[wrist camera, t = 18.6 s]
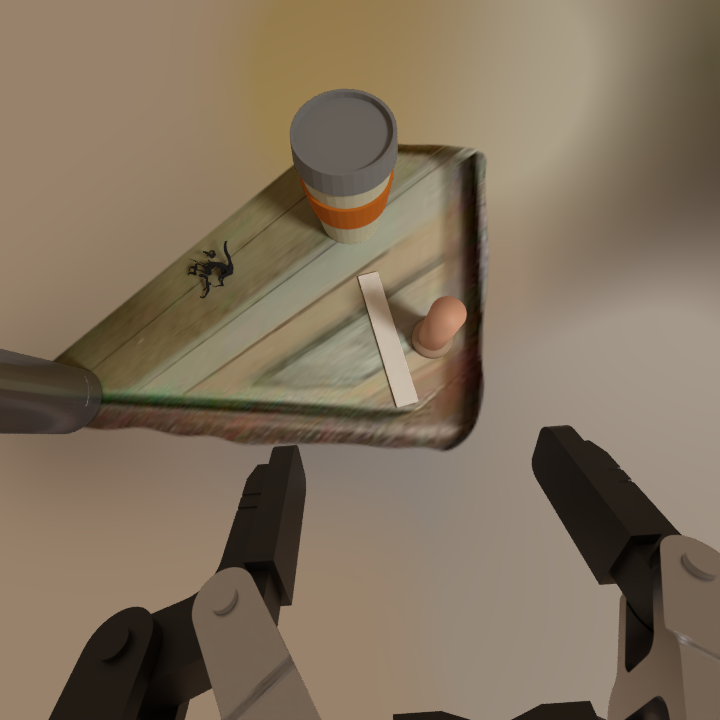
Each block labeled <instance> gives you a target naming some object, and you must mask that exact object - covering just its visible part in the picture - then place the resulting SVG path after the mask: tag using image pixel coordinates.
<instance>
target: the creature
mask: <svg viewBox="0 0 720 720" xmlns="http://www.w3.org/2000/svg"><path fill="white" fill-rule="evenodd" d="M226 243H227V241H225V243H224V252H225V254H226V256H227V258H228V265H227V266H226V265H225V264H222V263H219V262H210V261H209V260H208V261H209V262H210V263H206V264H204V265H201V264H197V263H196V264H195V266H192V267H190V268H193V269H194V272H189V274H193V275H196V274H197V273H196V270H198V269H197V268H198V267H197V265H201V266H203V267H204V269H205V271H206V272H205V271H202V270H200V271H202V272H203V273H204V274H206V275H211V270H212V269H213V268H214V267H215V266H216V267H219V268H220V269H221V275H220V276H219V278H218V280H219V281H220V279H221V278H222V280H221V285H218V286H224V285H223V279H224V278H225V277H227V276H229V275H232V274H233V264H232V262H231V258H230V255H229V254H228V251H227V247H226ZM211 251H212V252H213V254H212V255H211V254H210V252H211ZM211 251H210V252H206V251H203V252H204V253H205V254H207V256H208V255H209V256H210V258H214V257H215V255H216V254H215V251H213V250H211ZM191 260H192V259H191ZM193 261H195V260H193ZM195 262H196V261H195ZM197 262H198V261H197ZM200 263H201V262H200ZM202 264H203V263H202ZM205 265H208V266H205ZM190 268H189V271H190ZM189 274H188V276H189ZM204 274H199V276H200V277H204V278H205V279H206V286H207V287H206V288H207V291H206V294H205V296H203V297H201V298H205V297H206V295H207V294H208V292H209V285H211V282H210V283H209V282H208V277H207V276H206V275H204ZM213 287H214V286H213ZM216 287H217V286H216ZM206 288H205V289H206ZM205 289H204V290H205ZM204 290H203V291H204Z"/></svg>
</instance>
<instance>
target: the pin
mask: <svg viewBox="0 0 720 720" xmlns="http://www.w3.org/2000/svg"><path fill="white" fill-rule="evenodd" d="M465 319H466V309H465V306H464V305H463V304H462V302H461V301H459V300H458V299H456V298H454V297H449V296H446V297H441V298H439V299H437V300H436V301H435V302H434V303H433V304H432V306H431V308H430V310H429V312H428V314H427V317H426V319H423V320H422V321H420V322H419V323H418V324H417V325H416V326H415V328H414V330H413V333H412V337H411V340H412V345H413V347H414V349H415V350H416V352H417V353H418V354H420V355H421V356H423V357H426V358H431V359H433V358H439V357H441V356H443V355H444V354H445V353H447V351H448V350H449V349H450V348H451V346H452V344H453V335H454V334H455V333H456V332H457V330H458V329H459V328H460V327H461V326H462V324H463V323H464V322H465Z"/></svg>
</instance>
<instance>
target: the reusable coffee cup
mask: <svg viewBox="0 0 720 720" xmlns="http://www.w3.org/2000/svg"><path fill="white" fill-rule="evenodd" d="M290 142H291V149H292V155H293V162H294V165H295V168H296V171H297V172H298V174H299V176H300V179H301V183H302V186H303V189H304V191H305V193H306V196H307V198H308V200H309V203H310V205H311V207H312V209H313V211H314V213H315V214H316V216H317V217H318V218H319V219H320V221H321V223H322V225H323V228H324V230H325V231H326V233H327V234H328V235H329V236H330V237H331V238H332V239H333V240H335V241H337V242H339V243H343V244H357V243H361V242H363V241H365V240H367V239H368V238H370V237H371V236H372V235H373V234H374V233H375V231H376V229H377V227H378V224H379V220H380V216H381V213H382V212H383V210H384V208H385V206H386V203H387V199H388V195H389V192H390V188H391V184H392V180H393V171H394V170H393V168H394V166H395V163H396V160H397V152H398V147H397V126H396V120H395V118H394V115H393V113H392V112H391V110H390V109H389V107H388V106H387V105H386V104H385V103H384V102H383V101H382V100H380V99H379V98H377V97H375V96H374V95H372V94H369V93H367V92H364V91H360V90H355V89H338V90H331V91H328V92H324V93H322V94H319V95H317V96H315V97H313V98H312V99H311V100H309V101H307V102H306V103H305V104H304V105H303V106H302V107H301V108H300V109H299V110H298V112H297V113H296V115H295V116H294V119H293V121H292V123H291V128H290Z"/></svg>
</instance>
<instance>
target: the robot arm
mask: <svg viewBox="0 0 720 720" xmlns="http://www.w3.org/2000/svg"><path fill="white" fill-rule="evenodd" d="M101 399H102V389H101V385H100V383H99V380H98V379H97V378H96V376H95V375H94V374H92V373H91V372H90V371H88V370H85V369H82V368H78V367H74V366H69V365H65V364H61V363H57V362H53V361H49V360H45V359H41V358H36V357H32V356H28V355H24V354H19V353H15V352H10V351H7V350H3V349H0V434H1V433H2V434H69V433H72V432H75V431H77V430H79V429H81V428H83V427H84V426H85V425H87V424H88V423H89V422H90V421H91V420H92V419H93V417H94V416H95V414H96V413H97V411H98V409H99V407H100V404H101ZM532 469H533V472H534V475H535V477H536V479H537V481H538V482H539V484H540V486H541V488H542V489H543V491H544V493H545V494H546V496H547V498H548V499H549V501H550V502H551V504H552V506H553V508H554V509H555V511H556V513H557V514H558V516H559V518H560V519H561V521H562V523H563V524H564V526H565V528H566V529H567V531H568V533H569V534H570V536H571V538H572V539H573V541H574V543H575V544H576V546H577V548H578V549H579V551H580V553H581V555H582V556H583V558H584V560H585V561H586V563H587V565H588V566H589V568H590V569H591V571H592V573H593V575H594V576H595V578H596V580H597V581H598V583H599V584H600V585H602V584H603V585H604V584H617V585H618V586H619V588H620V590H621V591H622V595H621V597H620V609H619V636H618V637H619V639H618V665H617V676H616V681H615V684H614V687H613V689H612V692H611V696H610V700H609V707H608V720H720V553H719V552H717V551H716V550H714V549H713V548H711V547H710V546H708V545H706V544H704V543H703V542H700V541H698V540H696V539H693V538H690V537H686V536H682V535H681V534H680V533H679V532H678V531H677V530H676V529H675V528H674V526H673V525H672V524H671V523H670V522H669V521H668V520H667V519H666V518H665V516H664V515H663V514H662V513H661V512H660V511H659V510H658V509H657V508H656V506H655V505H654V504H653V503H652V502H651V501H650V500H649V499H648V497H647V496H646V495H645V494H644V493H643V492H642V491H641V490H640V488H639V487H638V486H637V485H636V484H635V483H634V482H632V481H631V478H630V477H628V475H627V474H626V473H625V472H624V471H623V470H621V469H620V466H619V465H618V464H617V463H616V462H615V461H614V459H613V458H611V456H610V455H609V454H608V453H607V452H606V451H604V450H603V449H601V448H600V447H598V446H597V445H595V444H594V443H593V442H591V441H589V440H588V441H584V440H583V439H582V438H581V437H580V435H579V434H578V433H577V432H576V431H575V430H574V429H573V428H572V427H571V426H569V425H564V426H550V427H543V428H542V429H541V431H540V434H539V437H538V440H537V444H536V447H535V450H534V454H533V457H532ZM305 495H306V478H305V473H304V469H303V465H302V460H301V456H300V453H299V449H298V446H297V445H291V446H278V447H274V448H273V450H272V453H271V457H270V461H269V464H261V465H257V467H256V468H255V469H254V471H253V472H252V473H251V475H250V476H249V477H248V478H247V481H246V484H245V487H244V490H243V494H242V498H241V500H240V503H239V506H238V511H237V513H236V516H235V519H234V522H233V525H232V528H231V531H230V534H229V538H228V541H227V544H226V547H225V550H224V554H223V557H222V560H221V563H220V565H219V567H218V569H217V571H216V573H215V574H214V575H213V576H212V577H211V578H210V579H209V580H208V581H207V582H206V583H205V584H204V585H203V587H202V588H201V589H200V591H199V592H197V593H196V594H194V595H193V596H191V597H189V598H187V599H185V600H183V601H180V602H179V603H176V604H173V605H171V606H169V607H166V608H164V609H162V610H160V611H157V612H155V613H152V614H150V613H149V612H148V611H147V610H146V609H144V608H142V607H131V608H127V609H124V610H122V611H120V612H118V613H116V614H115V615H113V616H112V617H110V618H109V619H108V620H107V621H106V622H104V623H103V624H102V625H101V626H100V627H99V628H98V629H97V630H96V632H95V633H94V634H93V635H92V636H91V638H90V639H89V641H88V642H87V644H86V646H85V648H84V649H83V651H82V653H81V655H80V658H79V659H78V661H77V663H76V665H75V667H74V669H73V671H72V673H71V675H70V677H69V679H68V681H67V683H66V686H65V687H64V689H63V691H62V694H61V696H60V697H59V699H58V701H57V704H56V706H55V708H54V710H53V712H52V714H51V716H50V718H49V720H185V716H186V712H187V709H188V705H189V701H190V699H192V698H194V697H196V696H198V695H200V694H201V693H204V692H205V691H207V690H209V689H211V688H213V692H214V695H215V698H216V702H217V705H218V708H219V712H220V716H221V720H322V719H321V717H320V715H319V713H318V711H317V709H316V707H315V705H314V703H313V701H312V699H311V696H310V694H309V693H308V690H307V688H306V686H305V684H304V682H303V680H302V678H301V676H300V674H299V672H298V670H297V668H296V666H295V664H294V661H293V659H292V657H291V655H290V653H289V651H288V649H287V647H286V645H285V643H284V641H283V639H282V637H281V635H280V633H279V631H278V629H277V625H278V619H279V611H280V606H289V605H292V598H293V591H294V583H295V575H296V567H297V558H298V550H299V543H300V534H301V527H302V519H303V511H304V503H305ZM393 720H469V719H466V718H462V717H459V716H456V715H452V714H449V713H446V712H443V711H435V712H421V713H407V714H393ZM512 720H606V719H603V718H601V717H599V716H597V715H596V713H595V711H594V709H593V707H592V704H591V702H590V701H581V702H566V703H553V704H541V705H539V706H537V707H535V708H533V709H531V710H530V711H528V712H526V713H524V714H522V715H520V716H518V717H516V718H514V719H512Z"/></svg>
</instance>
